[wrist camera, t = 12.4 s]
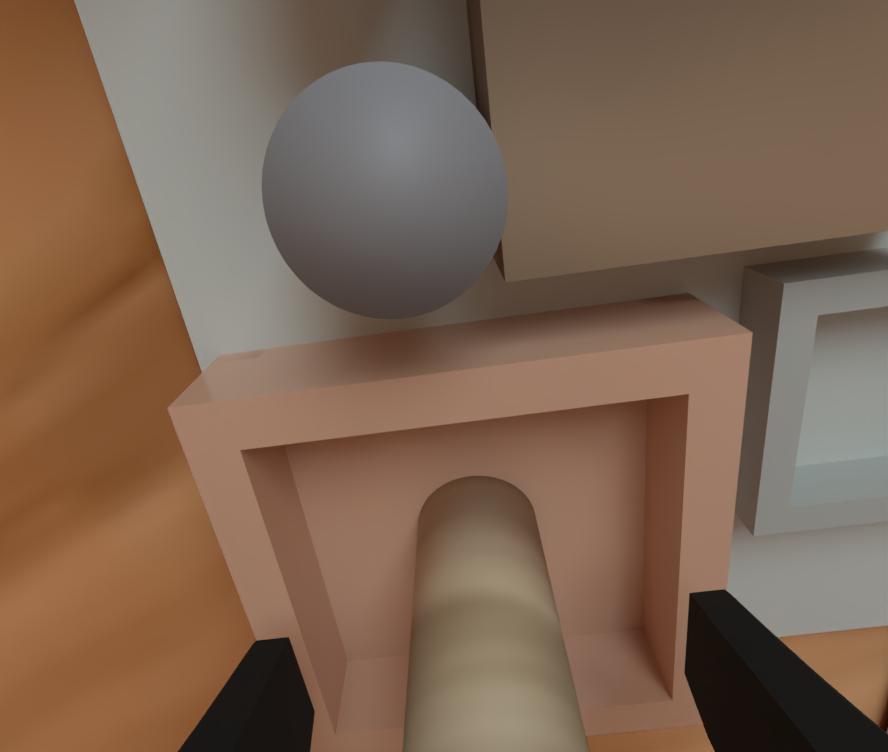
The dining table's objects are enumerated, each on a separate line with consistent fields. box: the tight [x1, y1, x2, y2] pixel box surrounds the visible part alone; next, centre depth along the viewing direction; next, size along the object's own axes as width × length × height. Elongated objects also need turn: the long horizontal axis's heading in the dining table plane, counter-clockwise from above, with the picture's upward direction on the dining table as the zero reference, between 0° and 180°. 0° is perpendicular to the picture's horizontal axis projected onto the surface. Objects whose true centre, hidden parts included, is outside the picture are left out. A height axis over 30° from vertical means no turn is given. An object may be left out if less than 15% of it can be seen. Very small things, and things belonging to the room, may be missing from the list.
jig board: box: [74, 0, 888, 637], centre depth 10 cm, size 21×20×5 cm
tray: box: [167, 293, 753, 752], centre depth 12 cm, size 10×10×2 cm
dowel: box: [402, 476, 589, 752], centre depth 10 cm, size 3×3×7 cm
